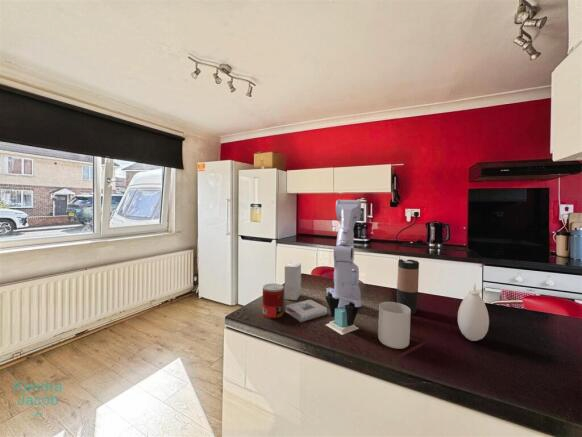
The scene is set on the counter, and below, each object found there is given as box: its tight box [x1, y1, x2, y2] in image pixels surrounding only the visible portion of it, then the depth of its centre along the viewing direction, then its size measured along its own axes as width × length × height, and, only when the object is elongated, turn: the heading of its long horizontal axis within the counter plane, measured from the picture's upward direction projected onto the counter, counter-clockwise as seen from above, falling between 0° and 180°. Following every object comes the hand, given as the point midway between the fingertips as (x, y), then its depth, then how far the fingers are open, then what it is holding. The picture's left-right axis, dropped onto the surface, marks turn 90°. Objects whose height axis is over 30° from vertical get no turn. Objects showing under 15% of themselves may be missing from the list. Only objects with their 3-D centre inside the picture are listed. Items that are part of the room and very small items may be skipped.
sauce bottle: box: [457, 283, 490, 342], centre depth 79 cm, size 8×8×18 cm
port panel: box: [285, 299, 328, 323], centre depth 96 cm, size 12×10×3 cm
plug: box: [334, 306, 348, 328], centre depth 86 cm, size 4×4×6 cm
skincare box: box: [284, 262, 302, 301], centre depth 114 cm, size 8×6×15 cm
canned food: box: [262, 283, 285, 319], centre depth 95 cm, size 8×8×11 cm
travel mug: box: [396, 259, 420, 315], centre depth 101 cm, size 8×8×20 cm
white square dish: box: [324, 319, 360, 336], centre depth 86 cm, size 8×8×2 cm
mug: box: [377, 301, 412, 350], centre depth 78 cm, size 12×9×11 cm
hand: (342, 320), depth 86 cm, fingers open, 7 cm apart
